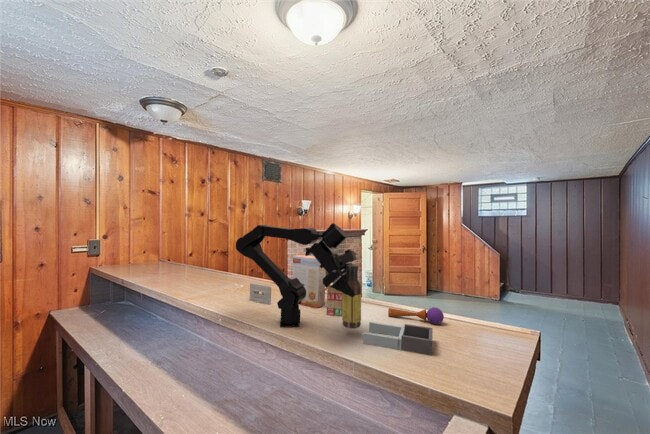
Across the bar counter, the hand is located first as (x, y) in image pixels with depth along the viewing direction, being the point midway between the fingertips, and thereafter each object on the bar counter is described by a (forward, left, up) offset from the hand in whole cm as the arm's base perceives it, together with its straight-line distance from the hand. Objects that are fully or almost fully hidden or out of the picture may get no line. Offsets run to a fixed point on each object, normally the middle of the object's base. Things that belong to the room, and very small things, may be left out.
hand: (356, 293), depth 97 cm
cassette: (-34, +38, -14) cm, 53 cm away
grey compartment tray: (+12, -6, -13) cm, 19 cm away
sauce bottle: (-1, +1, -11) cm, 11 cm away
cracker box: (-13, +35, -14) cm, 40 cm away
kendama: (+26, +13, -14) cm, 32 cm away
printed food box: (-1, +29, -14) cm, 32 cm away
